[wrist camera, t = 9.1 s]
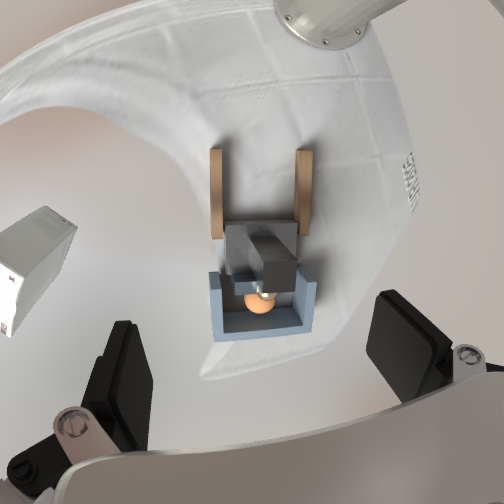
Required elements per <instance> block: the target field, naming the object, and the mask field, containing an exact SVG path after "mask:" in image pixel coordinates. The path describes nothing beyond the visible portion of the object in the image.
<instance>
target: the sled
mask: <svg viewBox="0 0 504 504" xmlns="http://www.w3.org/2000/svg"><path fill="white" fill-rule="evenodd" d="M297 228H298V223H297V222H296V221H294V220H293V219H280V220H247V221H224V254H225V271H226V275H231V282H232V286H233V290H234V293H235V295H249V294H257V295H258V297H259V298H260V299H262V300H263V301H271V300H273V299H275V298H276V296H277V294H278V293H280V292H292V291H295V288H296V275H297V259H296V246H297Z"/></svg>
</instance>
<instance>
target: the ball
mask: <svg viewBox="0 0 504 504" xmlns="http://www.w3.org/2000/svg"><path fill="white" fill-rule="evenodd" d="M244 301H245V304H246V306H247V307H248V309H249V310H251V311H252V312H254V313H265V312H268V311H269V310H271V309H272V307H273V306H274V304H275V301H276V298H275V299H273V300H271V301H263V300H262V299H260V298H259V297H258V295H257V294H249V295H244Z"/></svg>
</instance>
